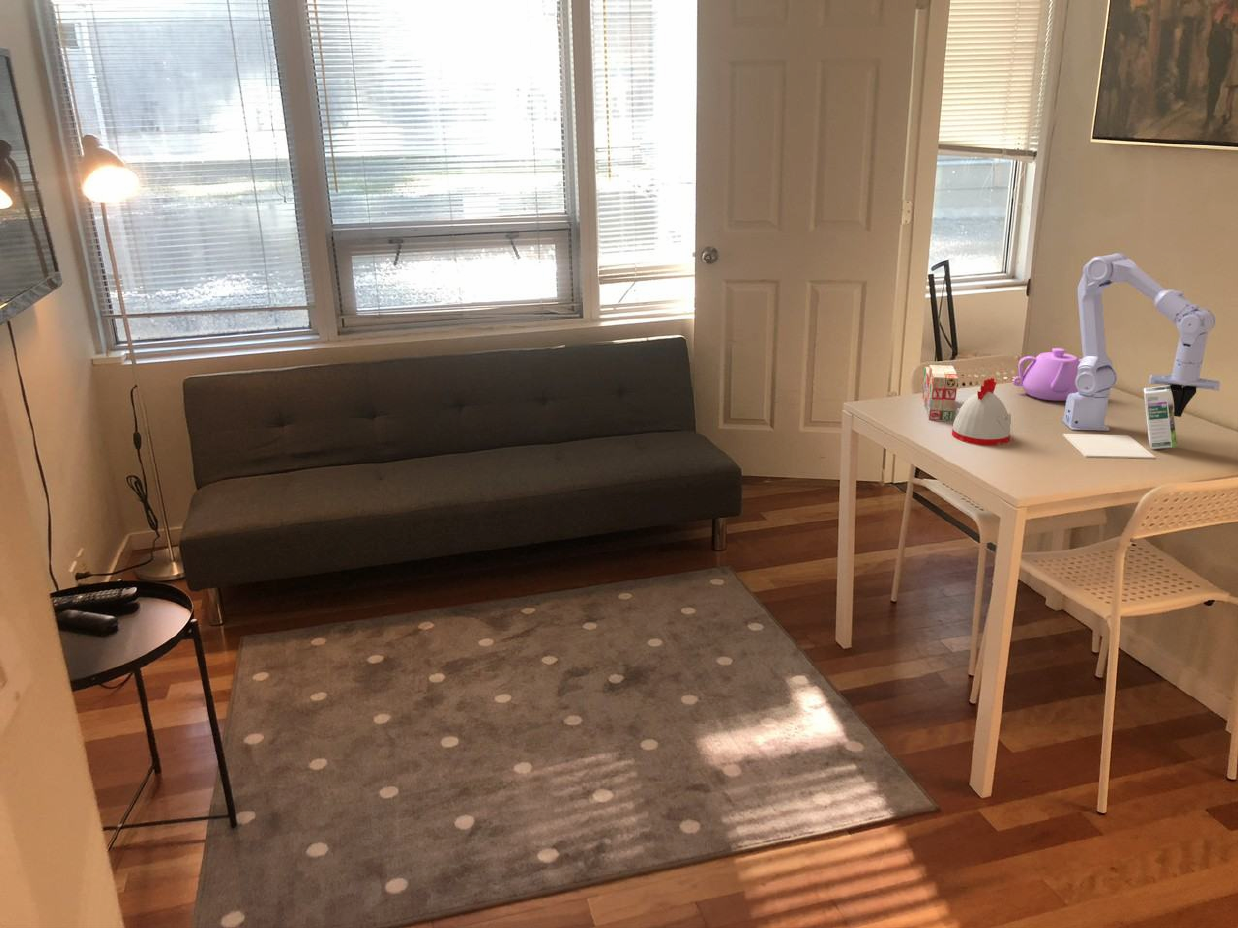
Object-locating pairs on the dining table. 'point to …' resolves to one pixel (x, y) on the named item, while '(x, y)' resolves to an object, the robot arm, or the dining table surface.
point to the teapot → (1049, 375)
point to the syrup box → (1160, 417)
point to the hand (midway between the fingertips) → (1177, 415)
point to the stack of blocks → (940, 391)
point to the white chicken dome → (983, 418)
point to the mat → (1108, 446)
